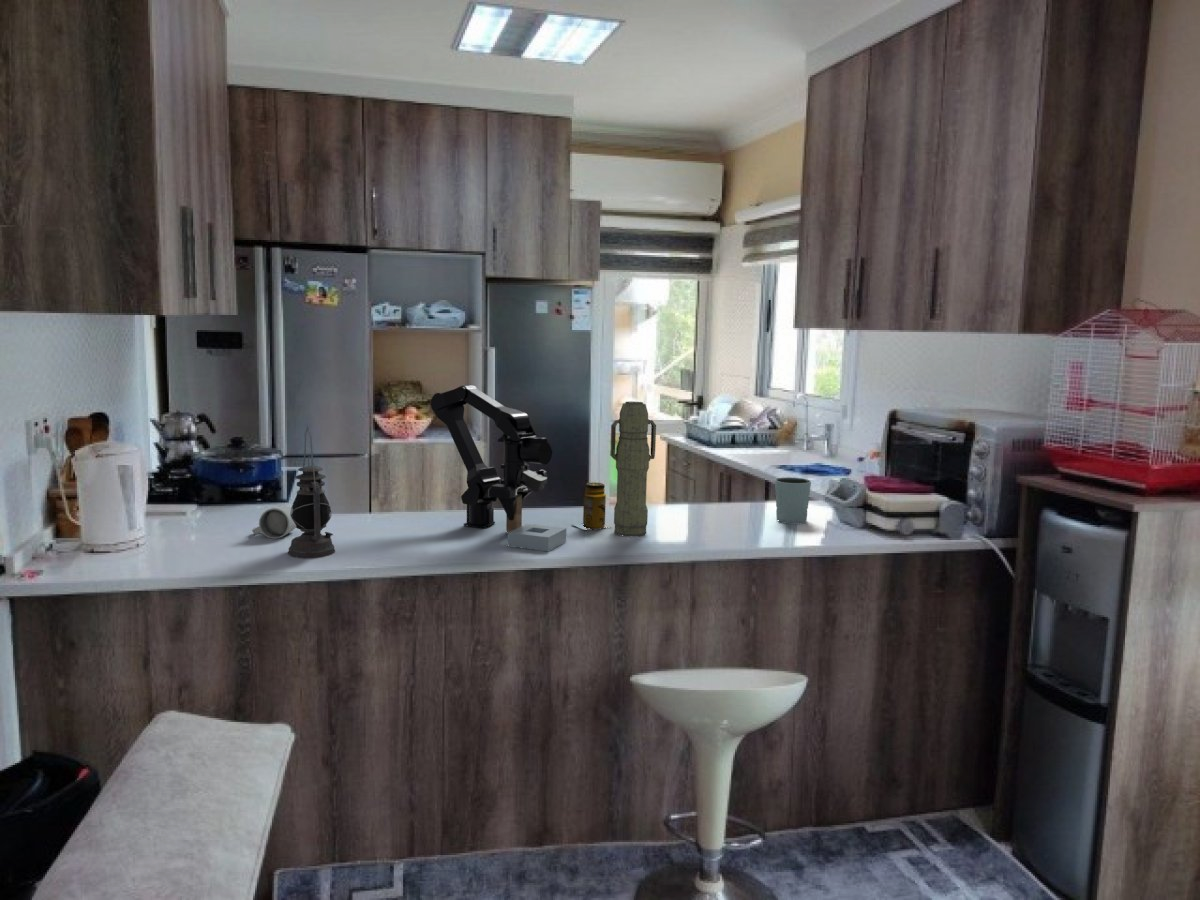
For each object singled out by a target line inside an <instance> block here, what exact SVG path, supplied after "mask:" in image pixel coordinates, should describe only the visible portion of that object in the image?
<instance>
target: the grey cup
mask: <svg viewBox="0 0 1200 900" xmlns="http://www.w3.org/2000/svg"><path fill="white" fill-rule="evenodd" d="M811 486H812V481H811V480H810V479H809V478H803V477H793V476H792V477H788V476H787V477H778V478H775V479H774V487H775V488H774V489H775V496H776V498H775V506H776V511H775V512H776V513H775V514H776V521H777V520H779V521H781V522H780V523H782V522H786V523H785V524H789V523H797V524H796V525H801V524H800V523H802V524H805V523H807V520H808V509H809V502H810V500H809V498H810V494H811ZM779 521H778V522H779ZM798 523H799V524H798Z"/></svg>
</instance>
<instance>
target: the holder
mask: <svg viewBox="0 0 1200 900" xmlns="http://www.w3.org/2000/svg"><path fill="white" fill-rule="evenodd" d="M565 541H566V542H567V527H559V526H551V525H550V526H549V525H543V524H542V525H541V524H534V523H526V524H523V525H522V526H521V527H519V528H517V529H514V530H512V531H510V532H508V533H507V546H508V545H509V546H515V547H514V548H517V547H522V548H521V549H525V548H528V549H527V550H533V549H534V551H543V552H549V551H551V550H554V549H555V548H558V547H559V546H561V545H562V543H563V544H565V543H566V542H565ZM560 544H561V545H560ZM509 546H508V547H509Z"/></svg>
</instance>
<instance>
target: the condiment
mask: <svg viewBox="0 0 1200 900" xmlns="http://www.w3.org/2000/svg"><path fill="white" fill-rule="evenodd" d="M606 500H607V494H606V493H605V484H604V483H602V482H587V483H586V484H585V492H584V493H583V510H582V511H583V512H582V515H583V516H582V518H583V519H582V524H584V525H583V526H584V527H586V528H590V529H587V531H593V530H592V529H594V530H601V529H600V528H604V527H606V529H610V528H611V526H609V525H608V526H607V525H606V503H607V501H606ZM607 527H608V528H607Z"/></svg>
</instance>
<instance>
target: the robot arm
mask: <svg viewBox="0 0 1200 900" xmlns="http://www.w3.org/2000/svg"><path fill="white" fill-rule="evenodd" d="M465 405H469V406H470V407H473V408H474V409H475V410H477V411H479V412H480V413H481V414H483V415H485V416H486V417H488V418H489V419H491V420H492V421H493V422H494V424H495V426H496V428H497V429H498V430H499V431H500V432H502V435H501V436H500V437H499V438H497V442H498V443H501V444H502V443H503V463H502V464H500V469H503V478H502V479H501V478H500V476H499V475H498V472H497V470H496V467H495V466H492V467H491V466H490V467H489V466H487V464H485V463H484V460H483V458H482V456H481V454H480V452H479V450H478V447H477V445H476V442H475V441H474V439H473V436H472V434H471V432H470V430H469V428H468V426H467V423H466V421H465V418H464V417H465ZM430 408H431V409H432V411H433V413H434V415H435V416H436V418H437V419H438V420H439V421H440V422H442V423H443V424H444V425H445V426H446V427H447V429H448V432H449V434H450V435H451V436H450V437H451V438H452V441H453V442H454V445H455V447H456V449H457V452H458V454H459V455H460V459H461V460H462V462H463V465H464V467H465V469H466V471H467V474H466V484H467V488H466V490H465V491H464V492H463V493H462V494H461V496H460V499H461V503H462V505H466V522H465V523H463V526H464V525H468V526H467V527H472V526H475V528H480V527H485V528H487V527H486V526H488V527H489V525H490V526H491V524H492V525H494V523H496V521H495V520H494V519H495V518H494V516H495V515H494V513H495V512H494V511H495V510H494V508H493V503H494V502H497V499H498V500H499V502H500V503H501V506H502V508H503V510H504V512H505V515H507V516H508V519H509V520H513V519H514V513H515V505H516V501H517V500H518V498H519V497H520V496H521V495H517V494H522V507H523V505H524V503H525V500H526V498H527V497H528V496H529V495H531V493H533V491H534V492H536V493H537V492H539V491H542V490H544V488H545V485H546V484H548V476H547V474H548V473H547V470H544V469H540V470H538V471H536V470H535V471H533V470H530V465H529V463H531V464H537V465H544V466H545V465H547V464H549V463H550V462H551V460H552V457H553V449H552V447H551V445H550V443H549V442H548V438H547V437H539V436H538V433H537V431H536V430H535V428H534V426H533V424H532V422H531V421H530V416H529V415H528V414H527V413H526V412H523V411H521V410H518V409H516V408H512V407H507V406H504V404H502V403H500V402H498V401H497V400H495V399H493V398H492V397H490V396H489V395H487V394H486V393H484V392H483V391H481V390H480V389H478V388H477V386H475V385H473V384H470V385H469V384H466V385H465V384H464V385H460V386H458V387H456V388H454V389H451V390H447V391H445V392H436V393H434V394H433V396H432V397H431V401H430ZM528 488H529V489H531V490H529V489H528Z"/></svg>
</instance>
